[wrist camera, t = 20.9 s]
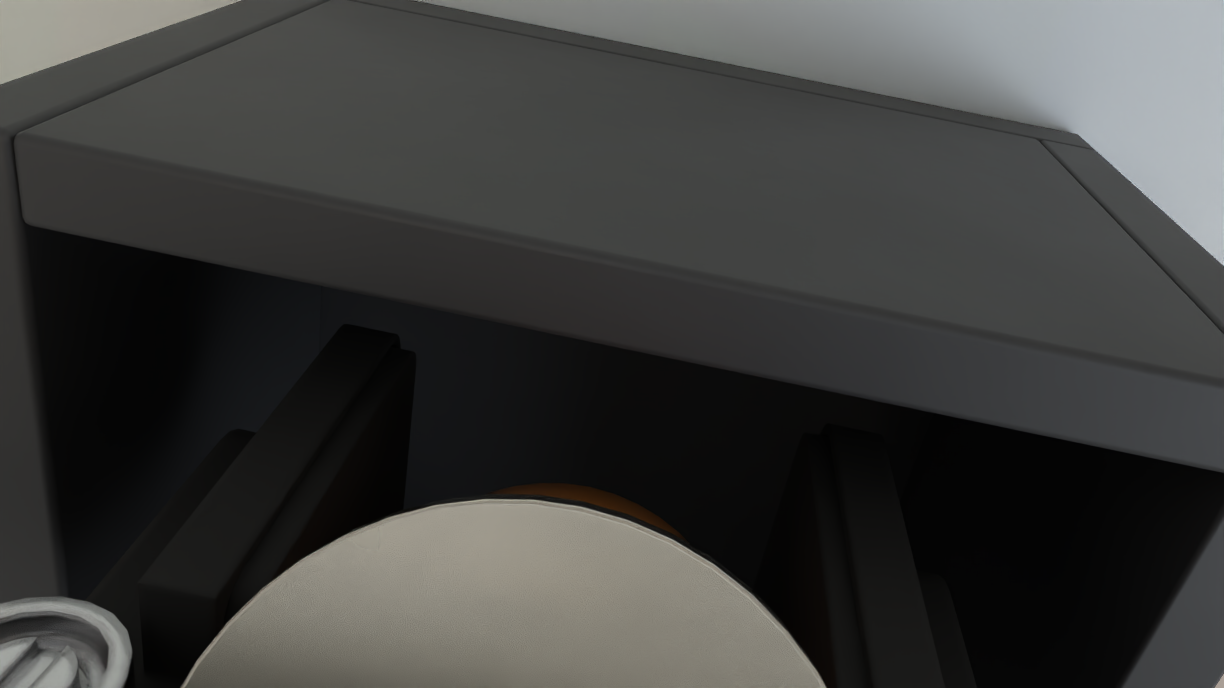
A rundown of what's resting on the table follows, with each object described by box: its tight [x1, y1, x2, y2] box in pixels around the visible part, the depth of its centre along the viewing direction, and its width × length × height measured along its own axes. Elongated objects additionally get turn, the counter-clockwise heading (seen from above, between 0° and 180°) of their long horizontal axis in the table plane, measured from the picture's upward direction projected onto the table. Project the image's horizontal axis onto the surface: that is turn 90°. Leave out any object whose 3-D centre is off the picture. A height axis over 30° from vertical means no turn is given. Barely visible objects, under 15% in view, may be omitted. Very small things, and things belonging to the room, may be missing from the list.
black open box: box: [0, 0, 1224, 688], centre depth 14 cm, size 14×12×8 cm
